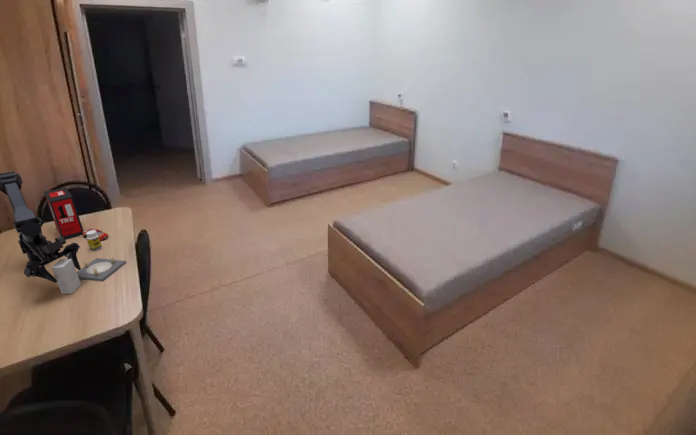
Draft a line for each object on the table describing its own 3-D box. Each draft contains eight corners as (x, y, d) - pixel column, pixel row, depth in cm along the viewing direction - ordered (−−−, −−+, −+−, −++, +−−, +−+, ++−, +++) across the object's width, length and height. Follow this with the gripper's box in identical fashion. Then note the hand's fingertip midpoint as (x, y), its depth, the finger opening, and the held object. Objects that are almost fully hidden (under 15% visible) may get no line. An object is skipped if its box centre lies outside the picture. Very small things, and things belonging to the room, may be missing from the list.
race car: (111, 238, 192) (108, 230, 190) (100, 243, 187) (98, 235, 186) (92, 233, 196) (90, 225, 195) (81, 237, 192) (79, 230, 190)
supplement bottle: (96, 251, 179) (91, 235, 176) (87, 250, 180) (82, 234, 176) (104, 246, 183) (99, 230, 180) (95, 245, 184) (90, 229, 181)
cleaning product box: (84, 234, 194) (72, 196, 186) (63, 240, 189) (49, 201, 180) (77, 223, 205) (65, 187, 197) (56, 229, 200) (43, 192, 191)
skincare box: (69, 285, 155) (60, 258, 150) (81, 284, 156) (72, 258, 151) (61, 294, 150) (50, 267, 145) (72, 293, 150) (63, 266, 145)
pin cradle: (71, 277, 160) (68, 269, 158) (97, 260, 172) (94, 252, 171) (102, 281, 158) (100, 272, 156) (126, 262, 170) (124, 254, 169)
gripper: (17, 245, 136) (49, 279, 137) (69, 223, 152) (97, 253, 153) (10, 260, 142) (41, 293, 143) (61, 238, 158) (88, 267, 159)
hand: (68, 275), depth 150 cm, fingers open, 9 cm apart
